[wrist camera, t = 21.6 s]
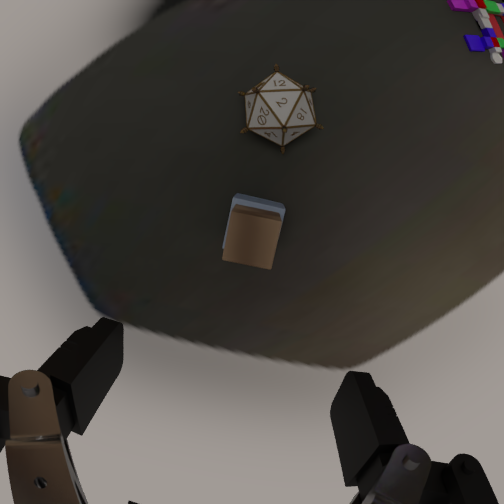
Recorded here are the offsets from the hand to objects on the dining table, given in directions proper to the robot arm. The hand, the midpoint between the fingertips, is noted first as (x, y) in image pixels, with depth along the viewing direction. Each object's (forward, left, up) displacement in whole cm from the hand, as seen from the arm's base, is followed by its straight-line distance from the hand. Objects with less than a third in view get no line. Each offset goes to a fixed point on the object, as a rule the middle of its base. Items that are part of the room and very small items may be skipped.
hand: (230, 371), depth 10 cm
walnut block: (0, 0, -23) cm, 23 cm away
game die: (0, -13, -28) cm, 31 cm away
